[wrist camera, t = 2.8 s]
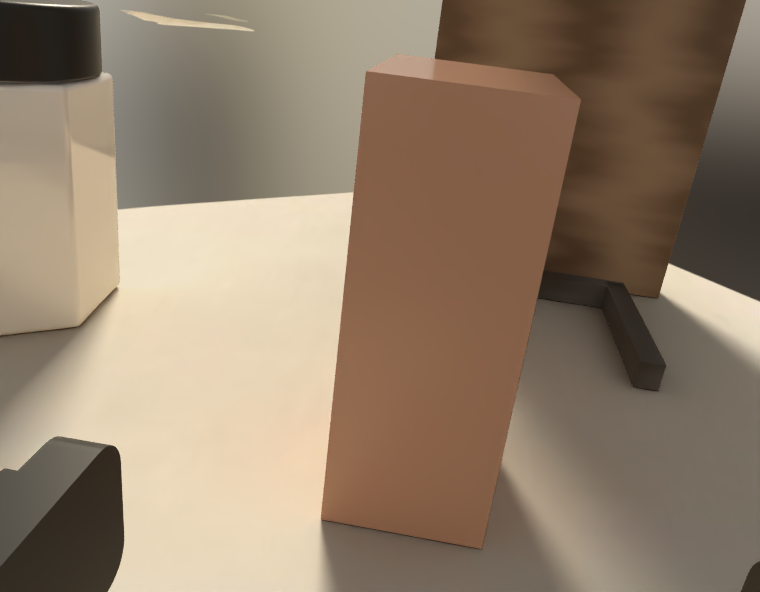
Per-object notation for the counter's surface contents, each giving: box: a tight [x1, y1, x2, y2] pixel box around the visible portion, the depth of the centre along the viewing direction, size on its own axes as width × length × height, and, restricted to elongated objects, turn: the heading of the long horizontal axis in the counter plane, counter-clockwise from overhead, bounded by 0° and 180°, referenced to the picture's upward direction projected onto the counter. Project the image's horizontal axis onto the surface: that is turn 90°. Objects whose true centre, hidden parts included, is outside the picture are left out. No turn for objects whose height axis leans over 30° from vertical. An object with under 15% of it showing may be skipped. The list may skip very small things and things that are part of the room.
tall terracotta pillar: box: [321, 54, 581, 549], centre depth 20 cm, size 4×6×12 cm
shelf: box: [435, 0, 746, 391], centre depth 29 cm, size 14×16×24 cm
